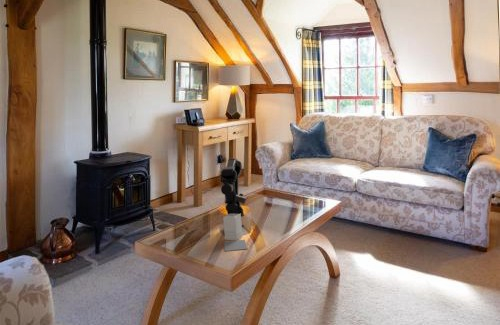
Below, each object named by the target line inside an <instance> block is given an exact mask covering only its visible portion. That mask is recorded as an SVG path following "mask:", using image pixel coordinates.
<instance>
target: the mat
mask: <svg viewBox="0 0 500 325" xmlns="http://www.w3.org/2000/svg"><path fill="white" fill-rule="evenodd" d="M223 249H224V252H234V251H242V250H243V251H244V250H248V247H247V242H246V240H245V239H238V240H225V241H223Z"/></svg>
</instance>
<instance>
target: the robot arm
mask: <svg viewBox="0 0 500 325" xmlns="http://www.w3.org/2000/svg"><path fill="white" fill-rule="evenodd" d="M227 161H228V162H227V163H226V164H227V165H226V166H225V167H223V168H222V169H221V171H220V183H223V185H222V186H221V189H220V190H221V193H222V194H223V195H224V204H225V211H226V214H241V218H243V217H244V216H245V214H244V213H245V211H244V209H243V207H242V204H243V205H244V204H245V203H246V199H247V196H244V194H243V193H241V192H240V193H239V188H240V187H239V179H240V177H241V175H242V170H243V165H242V162H241V161H240V160H238V158H236V157H235V158H229V159H228V160H227ZM241 224H242V222H241ZM244 226H245V224H242V227H244Z"/></svg>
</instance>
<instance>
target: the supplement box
mask: <svg viewBox="0 0 500 325" xmlns="http://www.w3.org/2000/svg"><path fill="white" fill-rule="evenodd" d="M222 219H223V220H222V221H223V227H224V228H223V230H224V239H225V241H236V240H241V238H243V226H242V225H243V224H241V223H242V217H241V213H240V214H228V213H226V214H225V215H224V216H223V217H222Z"/></svg>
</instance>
